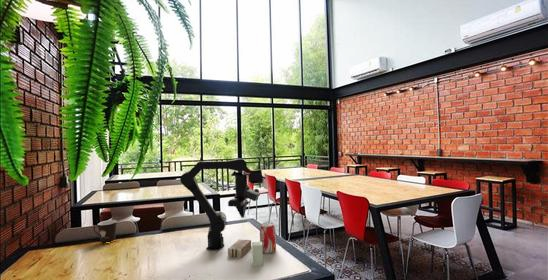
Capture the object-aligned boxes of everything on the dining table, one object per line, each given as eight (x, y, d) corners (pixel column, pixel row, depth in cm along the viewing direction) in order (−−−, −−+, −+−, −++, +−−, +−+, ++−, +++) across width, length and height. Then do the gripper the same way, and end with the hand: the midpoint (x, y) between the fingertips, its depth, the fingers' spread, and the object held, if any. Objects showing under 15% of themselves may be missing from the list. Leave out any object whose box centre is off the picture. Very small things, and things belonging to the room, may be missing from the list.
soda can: (274, 254, 122) (273, 226, 122) (258, 254, 124) (257, 226, 124) (277, 248, 129) (276, 222, 129) (262, 248, 131) (261, 221, 131)
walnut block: (227, 248, 122) (239, 239, 134) (228, 256, 122) (239, 246, 134) (240, 249, 120) (251, 240, 132) (241, 257, 120) (251, 247, 132)
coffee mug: (120, 240, 150) (120, 221, 151) (103, 245, 143) (103, 225, 143) (109, 237, 157) (108, 219, 157) (92, 242, 149) (91, 223, 150)
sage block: (252, 266, 112) (252, 245, 112) (253, 261, 116) (252, 242, 116) (263, 265, 112) (262, 245, 112) (262, 261, 116) (262, 241, 116)
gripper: (249, 188, 125) (251, 223, 125) (263, 182, 143) (264, 212, 143) (226, 188, 128) (228, 222, 128) (243, 182, 146) (244, 212, 146)
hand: (242, 217), depth 136 cm, fingers closed
